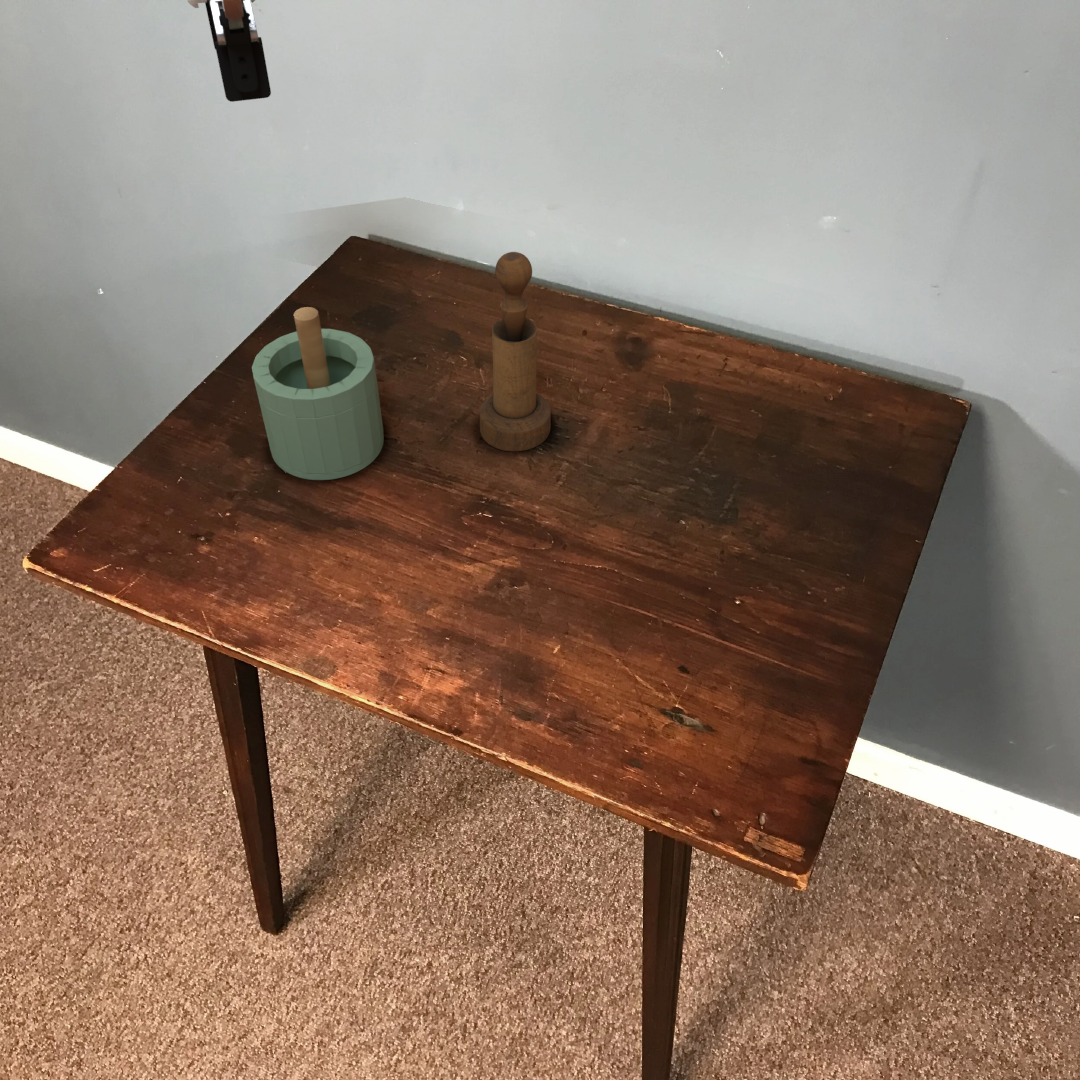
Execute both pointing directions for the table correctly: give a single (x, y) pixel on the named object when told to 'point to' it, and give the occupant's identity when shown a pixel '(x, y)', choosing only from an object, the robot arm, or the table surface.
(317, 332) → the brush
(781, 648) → the table surface
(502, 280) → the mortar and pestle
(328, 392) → the jar
